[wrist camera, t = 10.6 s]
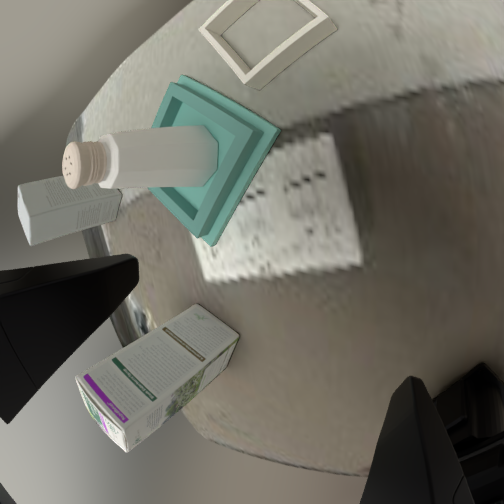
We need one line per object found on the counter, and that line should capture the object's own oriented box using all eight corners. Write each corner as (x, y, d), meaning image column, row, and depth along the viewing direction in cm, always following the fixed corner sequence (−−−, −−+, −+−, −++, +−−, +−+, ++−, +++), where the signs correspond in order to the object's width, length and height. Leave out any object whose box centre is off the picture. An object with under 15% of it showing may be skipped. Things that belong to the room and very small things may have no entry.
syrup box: (196, 300, 27) (69, 372, 15) (243, 335, 25) (119, 434, 13) (187, 337, 30) (82, 406, 18) (228, 369, 28) (126, 456, 16)
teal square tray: (281, 129, 18) (267, 126, 16) (215, 245, 24) (199, 251, 22) (186, 75, 21) (169, 71, 19) (145, 175, 26) (129, 177, 25)
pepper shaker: (207, 199, 22) (81, 229, 13) (166, 172, 24) (52, 189, 15) (230, 136, 19) (93, 132, 11) (183, 116, 21) (61, 111, 12)
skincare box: (96, 195, 33) (17, 214, 23) (102, 168, 31) (17, 183, 21) (116, 222, 32) (29, 248, 22) (123, 194, 29) (28, 216, 20)
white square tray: (337, 29, 13) (328, 16, 12) (259, 90, 18) (244, 84, 16) (276, -19, 14) (264, -31, 12) (213, 36, 18) (198, 29, 16)
